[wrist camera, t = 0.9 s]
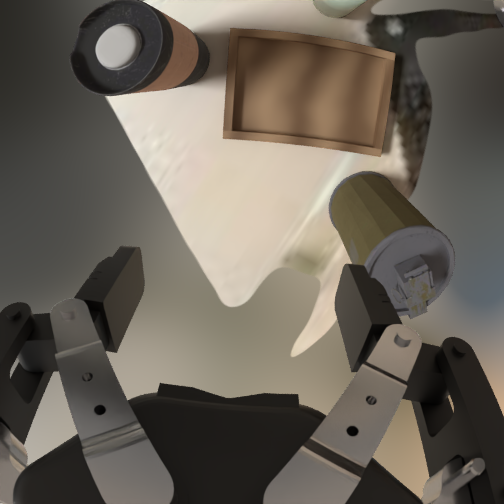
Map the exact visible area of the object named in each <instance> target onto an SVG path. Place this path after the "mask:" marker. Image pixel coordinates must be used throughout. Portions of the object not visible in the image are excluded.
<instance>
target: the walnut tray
mask: <svg viewBox="0 0 504 504" xmlns="http://www.w3.org/2000/svg"><path fill="white" fill-rule="evenodd" d="M394 61H395V53H392V52H388V51H385V50H381V49H377V48H373V47H369V46H365V45H360V44H356V43H351V42H346V41H341V40H336V39H330V38H325V37H319V36H312V35H305V34H298V33H289V32H280V31H269V30H256V29H237V28H230V39H229V52H228V65H227V79H226V94H225V109H224V126H223V139H238V140H252V141H264V142H275V143H285V144H295V145H303V146H312V147H320V148H327V149H334V150H341V151H348V152H354V153H360V154H366V155H372V156H378V157H381V152H382V147H383V141H384V135H385V129H386V123H387V117H388V110H389V103H390V96H391V88H392V80H393V71H394Z"/></svg>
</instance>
